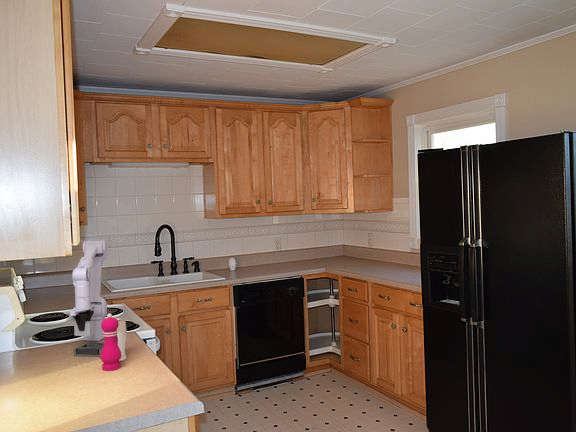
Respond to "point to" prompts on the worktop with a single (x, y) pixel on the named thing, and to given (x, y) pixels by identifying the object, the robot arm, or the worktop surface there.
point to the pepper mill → (110, 344)
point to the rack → (89, 349)
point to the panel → (86, 332)
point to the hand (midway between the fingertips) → (83, 329)
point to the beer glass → (121, 337)
